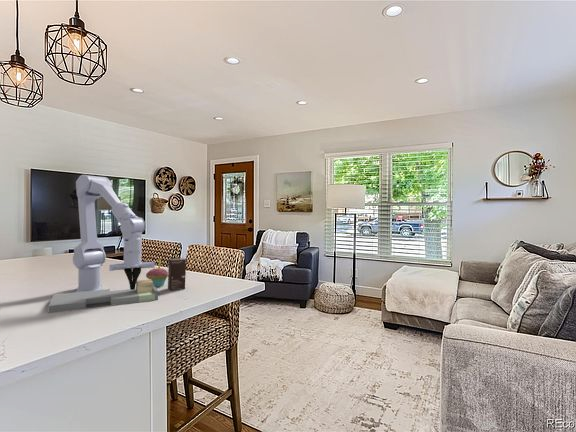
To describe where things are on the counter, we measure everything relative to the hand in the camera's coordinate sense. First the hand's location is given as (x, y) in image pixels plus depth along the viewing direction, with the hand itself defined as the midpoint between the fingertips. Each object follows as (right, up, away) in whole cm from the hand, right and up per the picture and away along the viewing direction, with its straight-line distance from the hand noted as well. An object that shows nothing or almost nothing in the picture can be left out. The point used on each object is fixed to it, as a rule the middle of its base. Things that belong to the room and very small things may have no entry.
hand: (132, 289), depth 115 cm
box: (+11, -3, +13) cm, 18 cm away
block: (+3, -1, +2) cm, 4 cm away
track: (-7, -3, -4) cm, 9 cm away
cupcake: (+2, -3, +18) cm, 18 cm away
